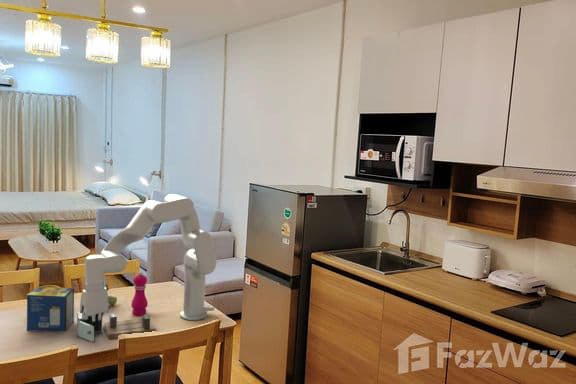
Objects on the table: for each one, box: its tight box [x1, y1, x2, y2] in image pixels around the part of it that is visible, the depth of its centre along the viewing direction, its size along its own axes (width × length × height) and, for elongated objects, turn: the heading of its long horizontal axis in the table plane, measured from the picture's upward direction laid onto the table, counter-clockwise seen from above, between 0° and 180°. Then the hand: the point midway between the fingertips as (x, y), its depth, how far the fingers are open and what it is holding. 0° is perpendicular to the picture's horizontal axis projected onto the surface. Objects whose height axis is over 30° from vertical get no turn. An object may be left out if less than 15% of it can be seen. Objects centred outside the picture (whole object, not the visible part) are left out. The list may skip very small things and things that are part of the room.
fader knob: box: [108, 313, 118, 328], centre depth 200 cm, size 2×4×4 cm, turn 27°
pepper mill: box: [130, 271, 149, 317], centre depth 220 cm, size 7×7×20 cm
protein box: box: [26, 286, 75, 333], centre depth 199 cm, size 10×15×16 cm
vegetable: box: [105, 284, 118, 306], centre depth 225 cm, size 12×13×15 cm
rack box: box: [76, 310, 103, 335], centre depth 199 cm, size 9×9×7 cm
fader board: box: [103, 314, 157, 340], centre depth 201 cm, size 19×13×6 cm
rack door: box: [76, 319, 95, 342], centre depth 190 cm, size 10×2×6 cm, turn 58°
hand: (94, 329), depth 191 cm, fingers closed
